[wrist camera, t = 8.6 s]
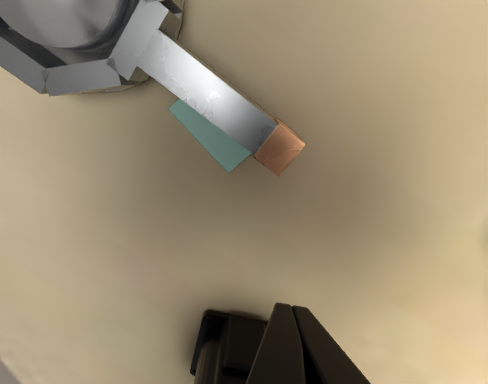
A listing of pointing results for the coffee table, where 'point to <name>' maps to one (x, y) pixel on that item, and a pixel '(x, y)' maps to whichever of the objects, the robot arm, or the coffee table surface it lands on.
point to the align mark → (210, 136)
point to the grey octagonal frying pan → (162, 70)
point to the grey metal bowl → (73, 26)
